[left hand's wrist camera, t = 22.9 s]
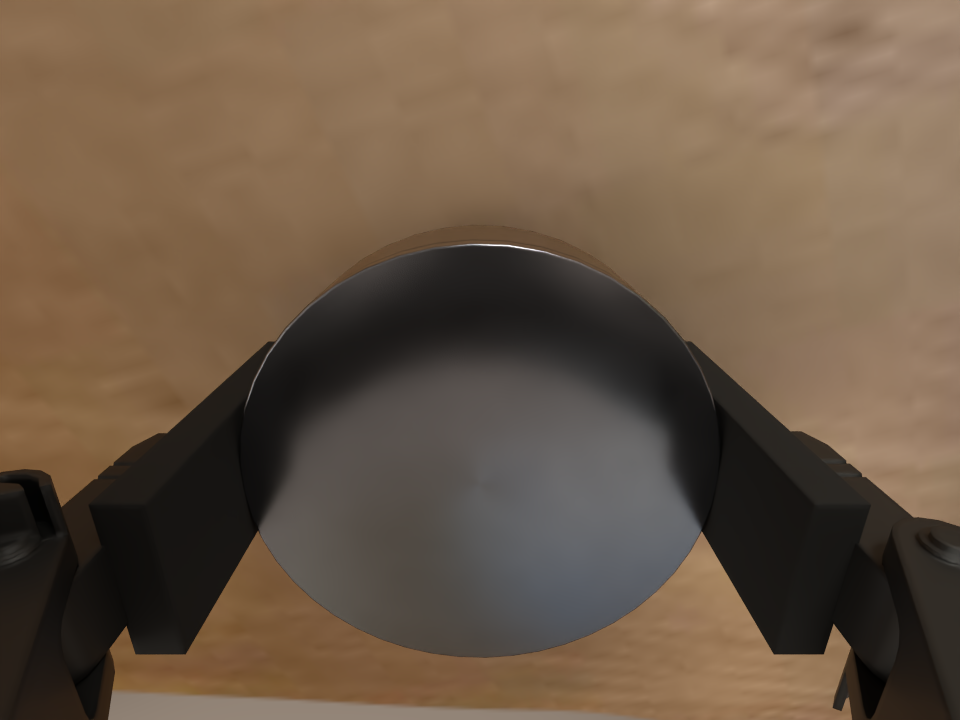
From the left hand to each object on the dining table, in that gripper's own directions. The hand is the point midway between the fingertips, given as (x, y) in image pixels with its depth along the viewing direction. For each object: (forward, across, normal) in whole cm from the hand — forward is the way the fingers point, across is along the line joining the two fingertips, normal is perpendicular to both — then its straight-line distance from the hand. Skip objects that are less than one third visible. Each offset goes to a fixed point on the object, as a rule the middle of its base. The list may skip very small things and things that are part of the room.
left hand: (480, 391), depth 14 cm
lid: (-4, 0, 0) cm, 4 cm away
